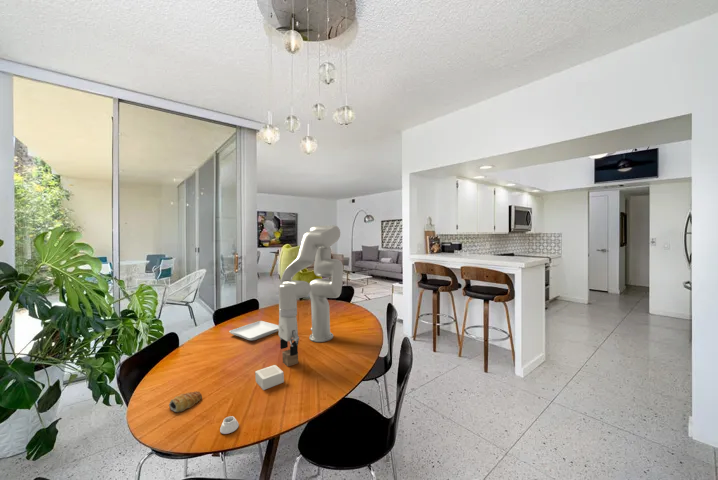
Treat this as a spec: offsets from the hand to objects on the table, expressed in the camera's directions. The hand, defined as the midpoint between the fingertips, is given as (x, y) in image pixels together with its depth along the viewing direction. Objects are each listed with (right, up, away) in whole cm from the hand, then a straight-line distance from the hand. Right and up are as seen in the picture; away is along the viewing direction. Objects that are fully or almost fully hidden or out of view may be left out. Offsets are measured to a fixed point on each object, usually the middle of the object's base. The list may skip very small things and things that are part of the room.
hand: (288, 351), depth 124 cm
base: (-4, -6, -14) cm, 16 cm away
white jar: (-8, -8, -39) cm, 41 cm away
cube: (0, -6, +1) cm, 6 cm away
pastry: (-29, -8, -27) cm, 40 cm away
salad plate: (-28, -5, +37) cm, 47 cm away
